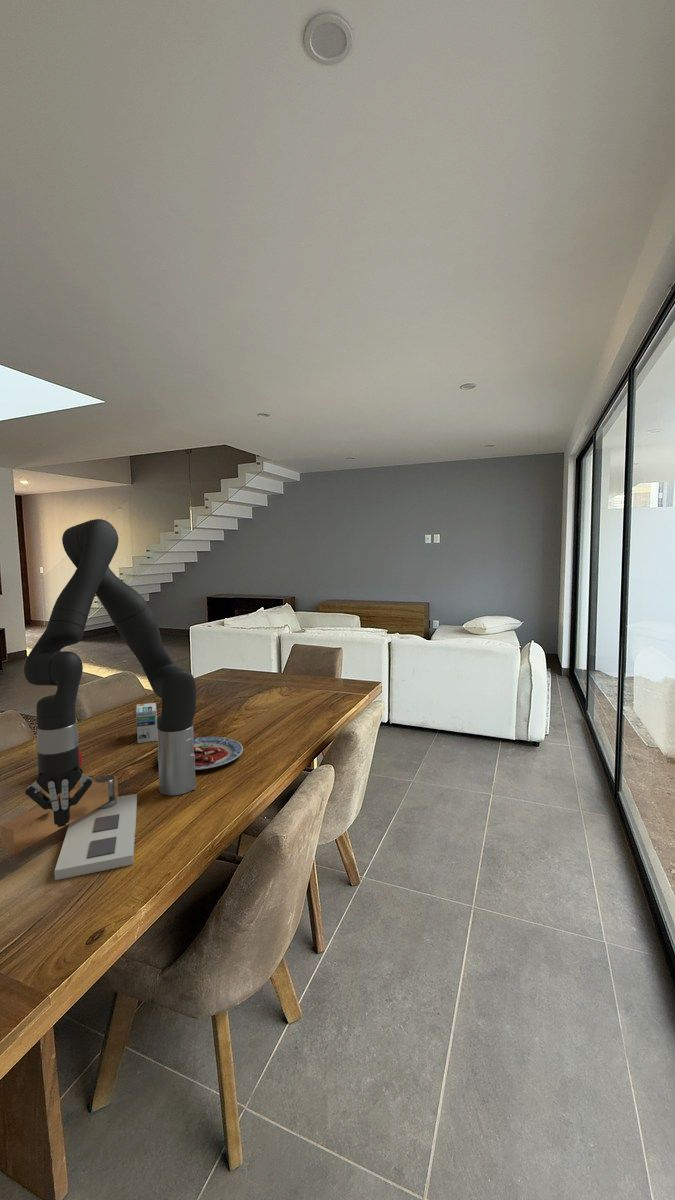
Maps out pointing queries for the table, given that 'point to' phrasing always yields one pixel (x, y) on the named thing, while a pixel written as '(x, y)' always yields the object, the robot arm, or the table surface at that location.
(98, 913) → the table surface
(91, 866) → the label board
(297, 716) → the table surface
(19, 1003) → the table surface
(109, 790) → the swing arm
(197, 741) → the ceramic plate
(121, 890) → the table surface
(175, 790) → the robot arm
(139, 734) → the light bulb box
